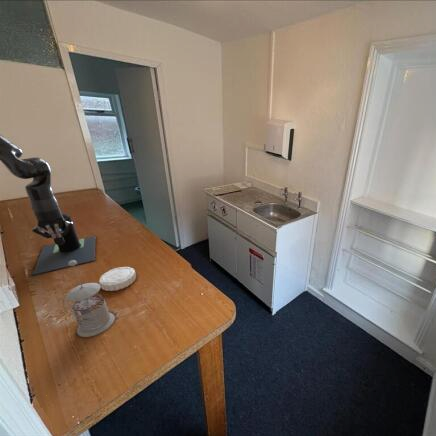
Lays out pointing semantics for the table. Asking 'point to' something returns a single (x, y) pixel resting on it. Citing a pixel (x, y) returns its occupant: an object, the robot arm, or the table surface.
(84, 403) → the table surface
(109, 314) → the french press
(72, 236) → the aerosol can
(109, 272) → the mooncake
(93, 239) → the board
